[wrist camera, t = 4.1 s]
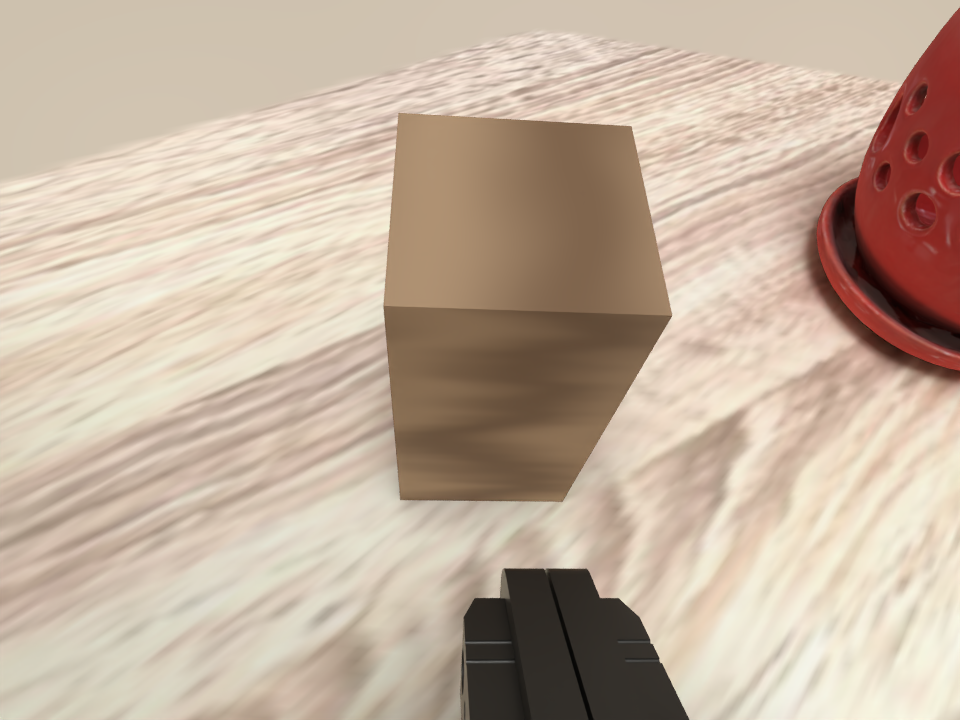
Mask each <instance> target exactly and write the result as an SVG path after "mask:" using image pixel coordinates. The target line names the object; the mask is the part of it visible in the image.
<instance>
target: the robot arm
mask: <svg viewBox="0 0 960 720" xmlns="http://www.w3.org/2000/svg"><path fill="white" fill-rule="evenodd" d="M460 697H461V719H462V720H689V718H688V716H687V714H686V712H685V710H684V708H683V706H682V704H681V702H680V700H679V698H678V696H677V694H676V691H675V689H674V687H673V685H672V683H671V681H670V679H669V677H668V675H667V673H666V671H665V669H664V667H663V665H662V663H660V662H659V657H658V655H657V652H656V650H655V648H654V646H653V644H651V643H650V638H649V636H648V634H647V632H646V630H645V628H644V626H643V624H642V622H641V620H640V618H639V616H637V615H636V614H635V613H634V612H633V611H632V610H631V609H630V608H629V607H627V606H626V605H625V604H624V603H623V602H622V601H621V600H620V599H619V598H600V597H599V595H598V592H597V590H596V587H595V585H594V582H593V580H592V578H591V575H590V573H589V571H588V570H587V569H546V570H544V569H503V571H502V577H501V591H500V598H475V599H474V600H473V602H472V604H471V606H470V607H469V609H468V611H467V613H466V614H465V616H464V622H463V645H462V667H461V689H460Z"/></svg>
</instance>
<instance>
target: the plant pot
mask: <svg viewBox="0 0 960 720" xmlns="http://www.w3.org/2000/svg"><path fill="white" fill-rule="evenodd" d="M926 95H927V96H926ZM925 97H926V98H925ZM817 245H818V251H819V256H820V260H821V263H822V266H823V268H824V271H825V273H826V275H827V278H828V280H829V281H830V283H831V285H832V287H833V288H834V290H835V291H836V293H837V294H838V295H839V297H840V298H841V300H842V301H843V302H844V304H845V305H846V306H847V307H848V308H849V309H850V311H851V312H852V313H853V314H854V315H855V316H856V317H857V318H858V319H859V320H860V321H861V322H862V323H864V324H865V325H866V326H867V327H868V328H870V329H871V330H872V331H873V332H875V333H876V334H877V335H879V336H880V337H881V338H883V339H884V340H886V341H887V342H889V343H890V344H892V345H894V346H896V347H897V348H899V349H901V350H903V351H905V352H906V353H908V354H910V355H913V356H915V357H917V358H920V359H922V360H924V361H927V362H929V363H932V364H936V365H939V366H942V367H946V368H949V369H954V370H959V371H960V8H959V9H958V10H957V11H956V12H955V13H954V15H953V16H952V17H951V18H950V20H949V21H948V22H947V23H946V25H945V26H944V27H943V28H942V29H941V31H940V32H939V33H938V35H937V36H936V37H935V39H934V40H933V41H932V43H931V44H930V45H929V47H928V48H927V50H926V51H925V52H924V54H923V55H922V56H921V58H920V59H919V60H918V62H917V63H916V65H915V66H914V68H913V69H912V71H911V72H910V74H909V75H908V77H907V78H906V80H905V81H904V83H903V84H902V86H901V88H900V89H899V91H898V93H897V94H896V96H895V98H894V99H893V101H892V103H891V105H890V106H889V108H888V110H887V112H886V113H885V115H884V117H883V119H882V121H881V123H880V125H879V127H878V128H877V130H876V132H875V134H874V136H873V139H872V141H871V143H870V146H869V148H868V150H867V153H866V155H865V158H864V161H863V164H862V168H861V171H860V175H859V177H857V178H855V179H852V180H850V181H848V182H847V183H845V184H843V185H842V186H840V187H839V188H838V189H837V190H836V191H835V192H834V193H832V195H831V196H830V197H829V199H828V200H827V202H826V203H825V205H824V207H823V209H822V212H821V214H820V217H819V221H818V226H817Z"/></svg>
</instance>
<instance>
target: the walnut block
mask: <svg viewBox="0 0 960 720" xmlns="http://www.w3.org/2000/svg"><path fill="white" fill-rule="evenodd" d="M384 317H385V328H386V340H387V351H388V363H389V374H390V386H391V397H392V409H393V420H394V432H395V443H396V455H397V466H398V478H399V489H400V500H453V501H556V502H562V501H563V499H564V498H565V496H566V494H567V493H568V491H569V489H570V488H571V486H572V484H573V483H574V481H575V479H576V477H577V476H578V474H579V472H580V471H581V469H582V467H583V466H584V464H585V462H586V461H587V459H588V457H589V455H590V454H591V452H592V450H593V449H594V447H595V445H596V444H597V442H598V440H599V439H600V437H601V435H602V433H603V432H604V430H605V428H606V427H607V425H608V423H609V422H610V420H611V418H612V417H613V415H614V413H615V412H616V410H617V408H618V406H619V405H620V403H621V401H622V400H623V398H624V396H625V395H626V393H627V391H628V390H629V388H630V386H631V384H632V383H633V381H634V379H635V378H636V376H637V374H638V373H639V371H640V369H641V368H642V366H643V364H644V362H645V361H646V359H647V357H648V356H649V354H650V352H651V351H652V349H653V347H654V346H655V344H656V342H657V340H658V339H659V337H660V335H661V334H662V332H663V330H664V329H665V327H666V325H667V324H668V322H669V320H670V318H671V317H672V312H671V308H670V303H669V298H668V294H667V289H666V284H665V280H664V275H663V271H662V266H661V261H660V257H659V252H658V247H657V243H656V238H655V233H654V229H653V224H652V220H651V215H650V210H649V206H648V201H647V196H646V192H645V187H644V182H643V178H642V173H641V169H640V164H639V159H638V155H637V150H636V145H635V141H634V136H633V131H632V127H631V126H617V125H599V124H582V123H564V122H547V121H529V120H511V119H494V118H476V117H459V116H441V115H424V114H406V113H399V114H398V127H397V139H396V152H395V165H394V178H393V191H392V204H391V217H390V229H389V242H388V255H387V268H386V281H385V294H384Z"/></svg>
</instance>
